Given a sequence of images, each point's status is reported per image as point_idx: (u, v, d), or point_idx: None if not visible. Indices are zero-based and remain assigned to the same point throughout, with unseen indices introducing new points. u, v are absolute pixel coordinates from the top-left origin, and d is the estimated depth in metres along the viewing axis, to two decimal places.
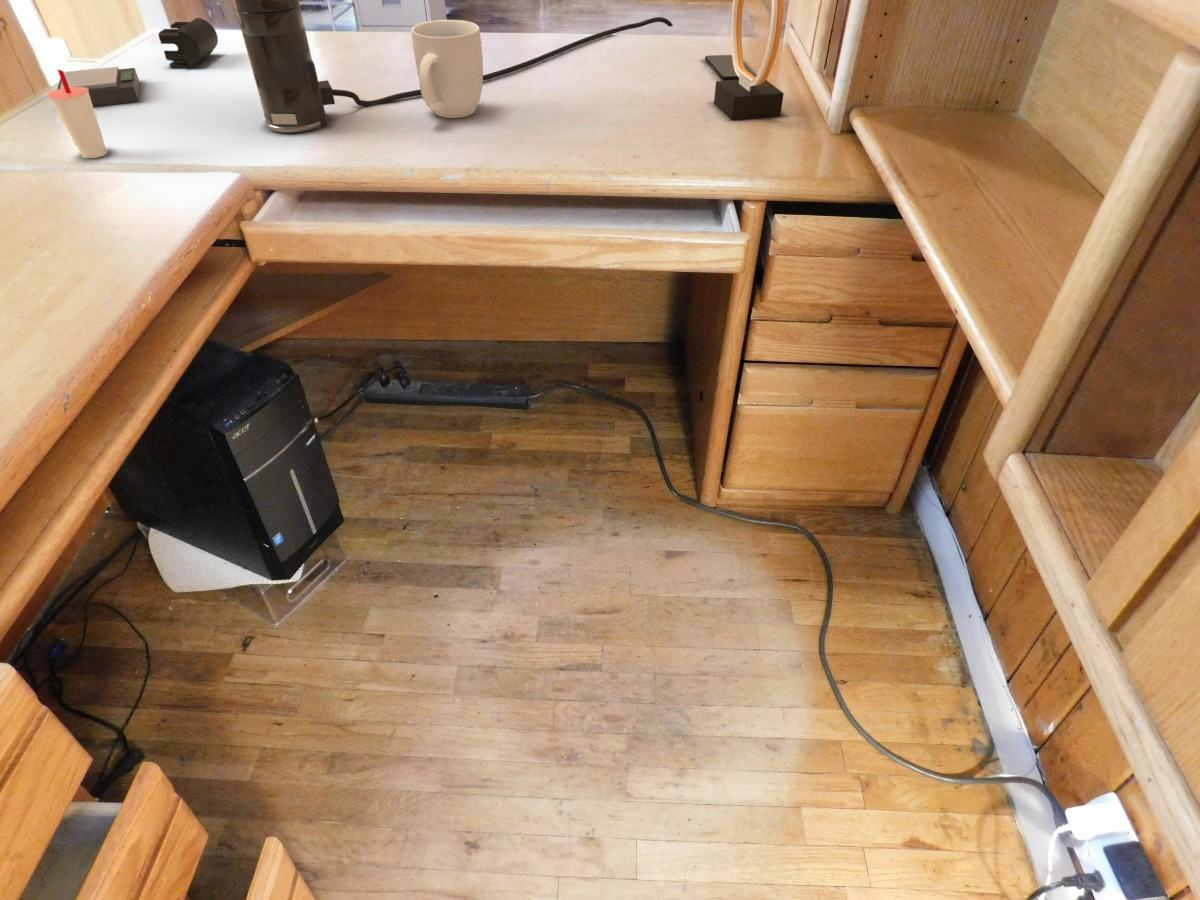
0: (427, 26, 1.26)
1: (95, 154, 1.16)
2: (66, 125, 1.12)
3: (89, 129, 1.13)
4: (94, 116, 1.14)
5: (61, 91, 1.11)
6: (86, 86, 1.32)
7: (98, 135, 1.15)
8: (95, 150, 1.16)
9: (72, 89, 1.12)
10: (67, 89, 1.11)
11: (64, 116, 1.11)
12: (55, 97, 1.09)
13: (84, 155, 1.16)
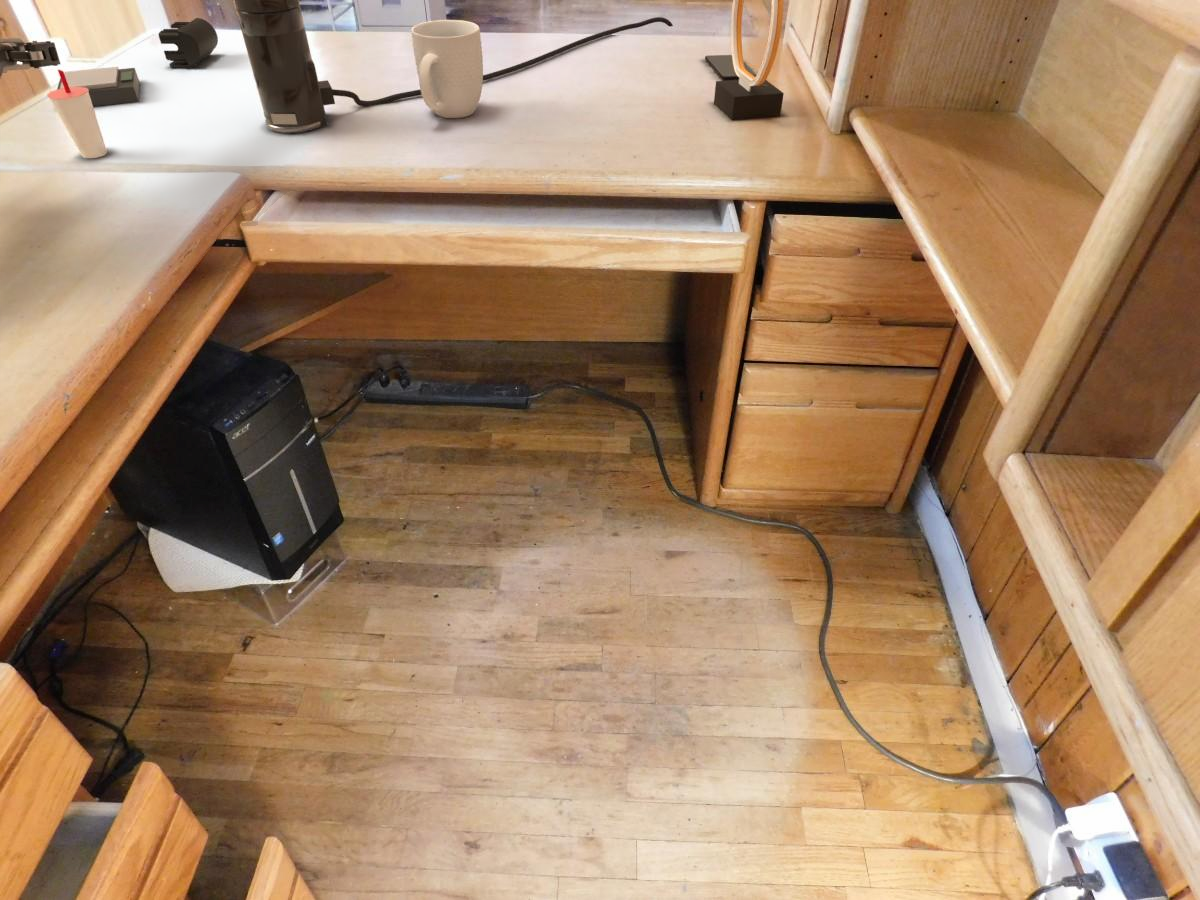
0: (427, 26, 1.26)
1: (95, 154, 1.16)
2: (66, 125, 1.12)
3: (89, 129, 1.13)
4: (94, 116, 1.14)
5: (61, 91, 1.11)
6: (86, 86, 1.32)
7: (98, 135, 1.15)
8: (95, 150, 1.16)
9: (72, 89, 1.12)
10: (67, 89, 1.11)
11: (65, 116, 1.11)
12: (55, 97, 1.09)
13: (84, 155, 1.16)
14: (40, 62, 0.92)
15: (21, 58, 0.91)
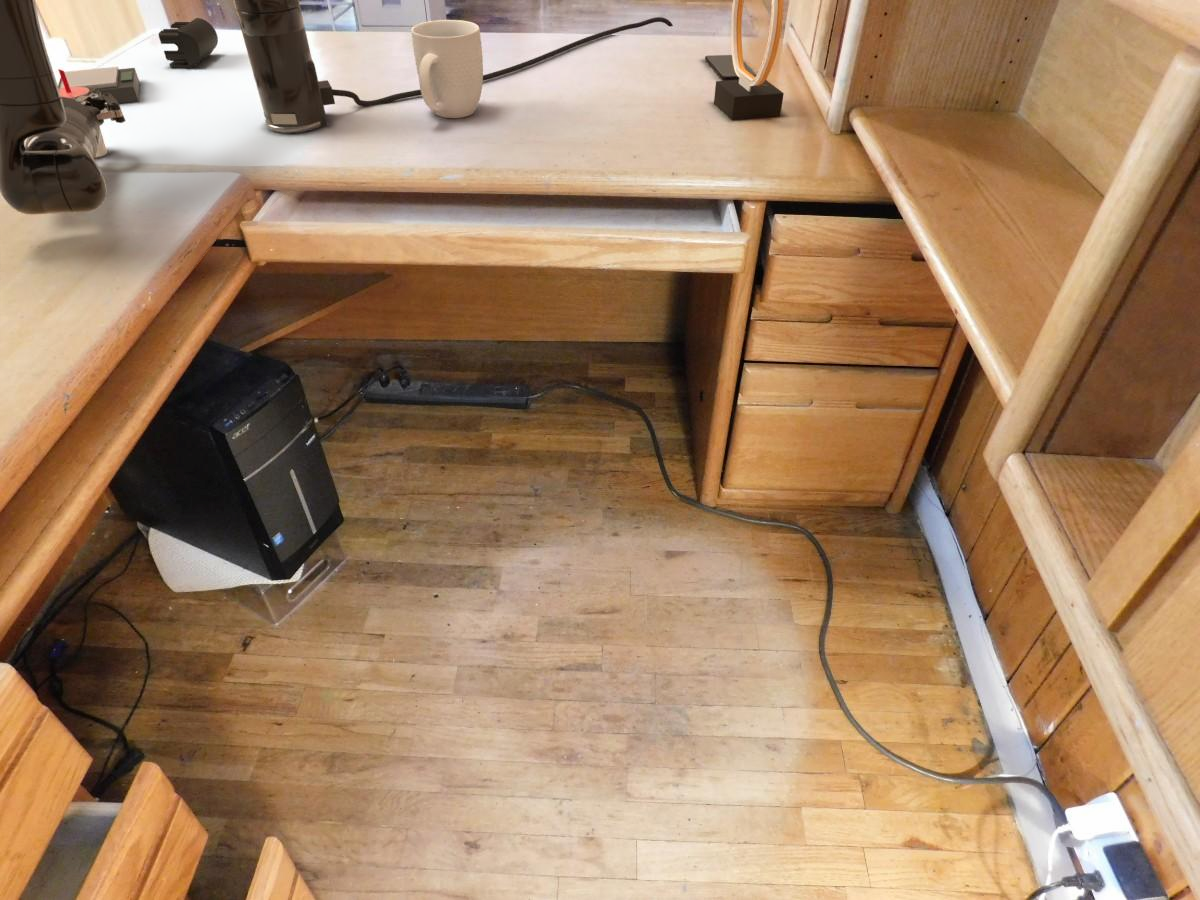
0: (427, 26, 1.26)
1: None
2: None
3: None
4: None
5: (62, 91, 1.12)
6: (86, 86, 1.32)
7: None
8: None
9: (73, 89, 1.12)
10: (68, 89, 1.11)
11: None
12: None
13: None
14: (123, 116, 1.10)
15: (110, 117, 1.09)
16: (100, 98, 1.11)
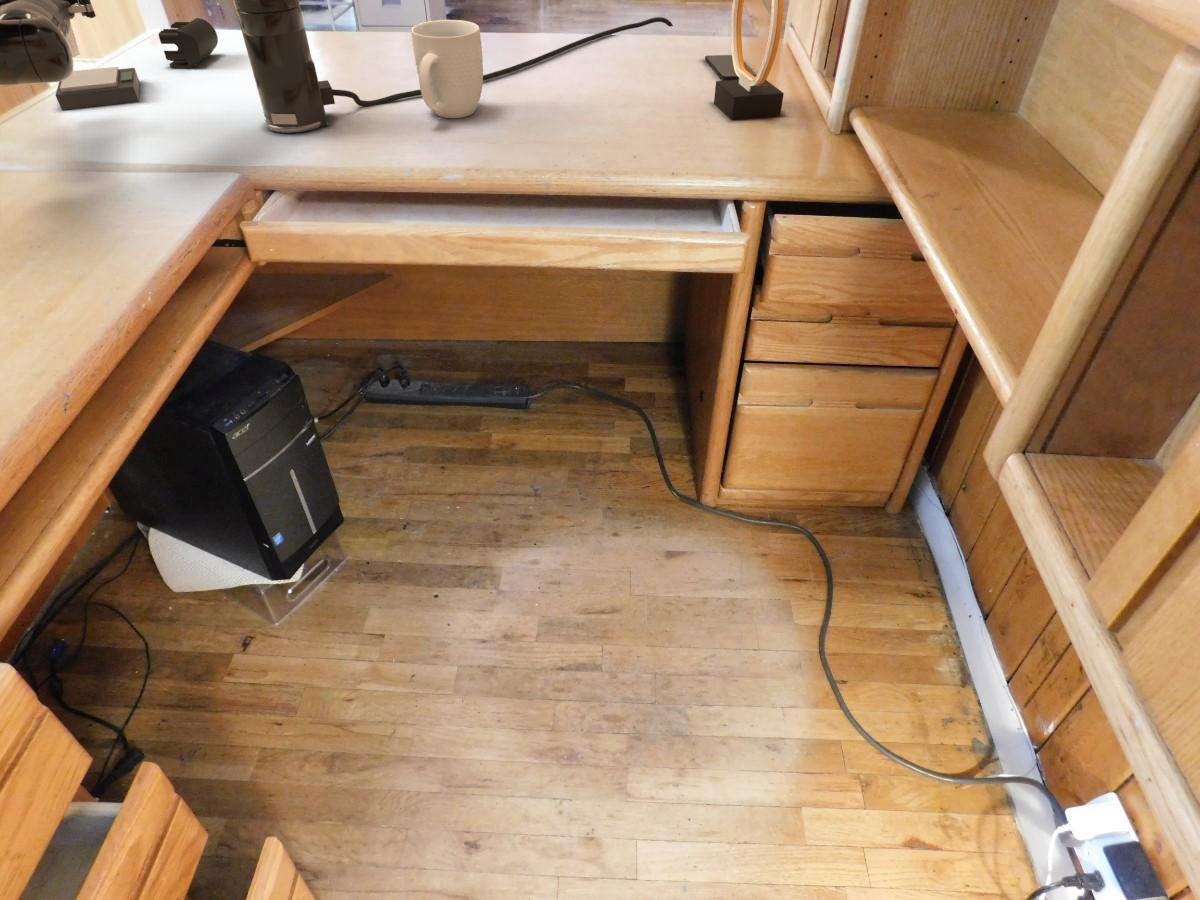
0: (427, 26, 1.26)
1: None
2: None
3: None
4: None
5: None
6: (86, 86, 1.32)
7: (71, 35, 1.18)
8: None
9: None
10: None
11: None
12: None
13: None
14: (94, 12, 1.13)
15: (81, 11, 1.12)
16: None
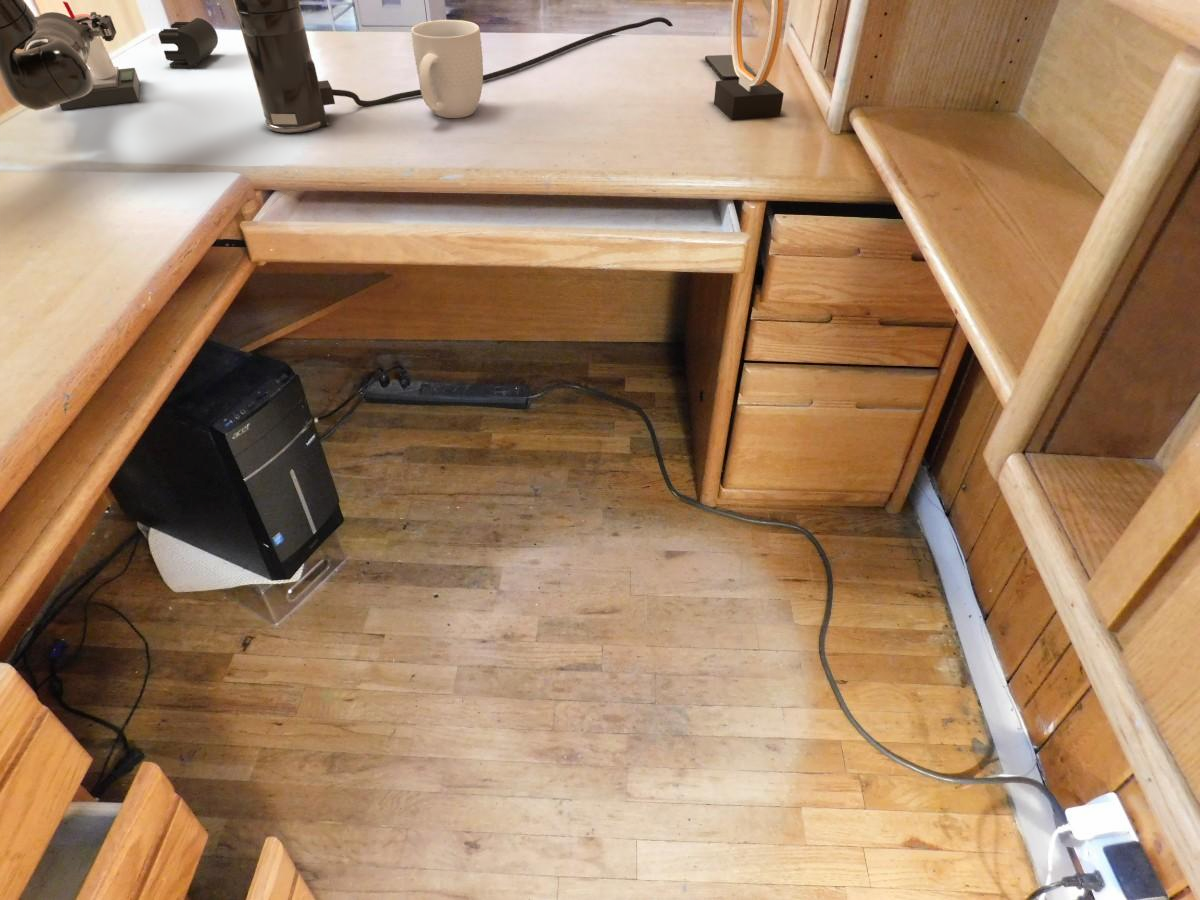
0: (427, 26, 1.26)
1: (107, 75, 1.34)
2: None
3: (99, 53, 1.31)
4: (100, 40, 1.31)
5: None
6: None
7: (107, 57, 1.32)
8: (107, 71, 1.33)
9: None
10: None
11: None
12: None
13: (98, 76, 1.34)
14: (111, 36, 1.25)
15: (98, 35, 1.23)
16: (101, 19, 1.27)
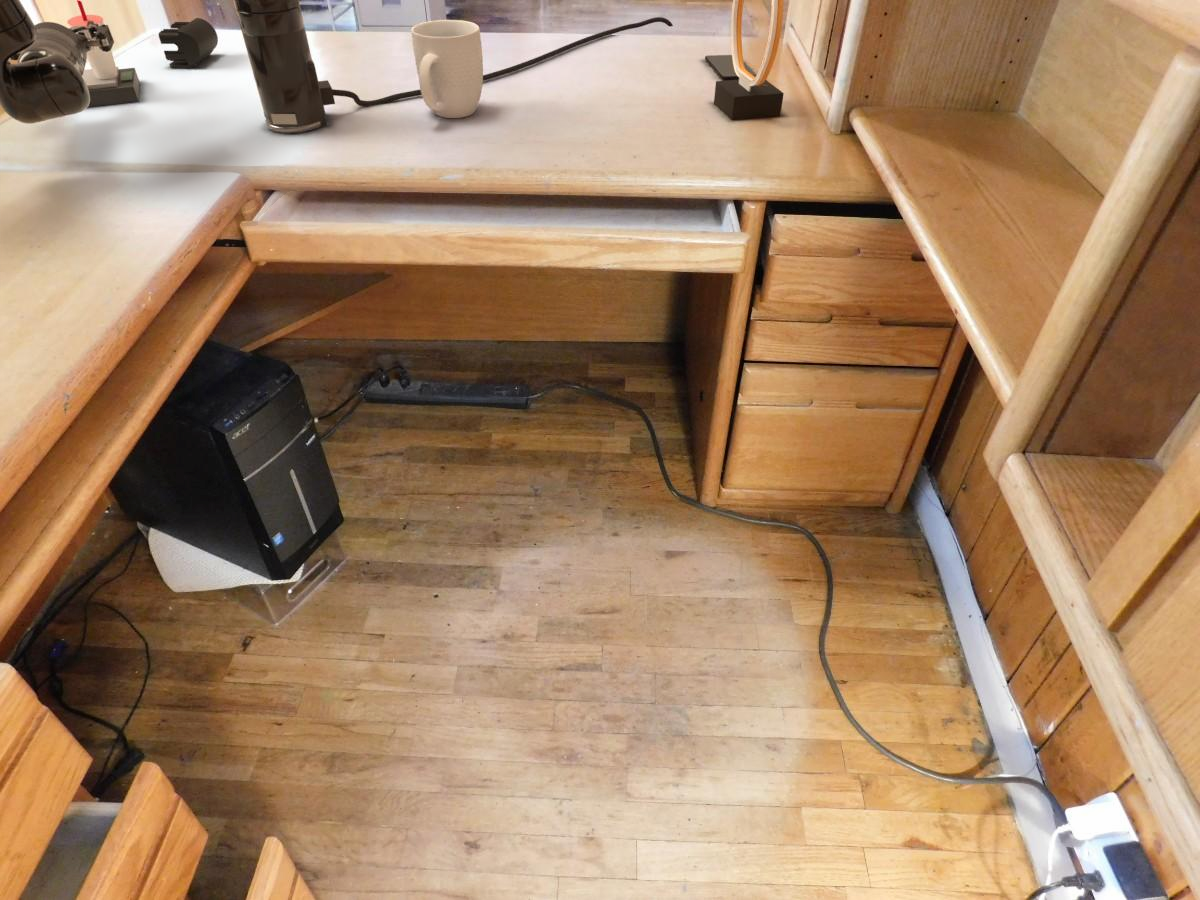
0: (427, 26, 1.26)
1: (109, 76, 1.34)
2: None
3: (104, 53, 1.31)
4: None
5: (79, 19, 1.29)
6: None
7: (111, 59, 1.33)
8: (109, 72, 1.34)
9: (88, 17, 1.30)
10: (85, 17, 1.28)
11: None
12: (75, 25, 1.27)
13: (99, 76, 1.34)
14: (109, 46, 1.20)
15: (95, 45, 1.19)
16: (98, 29, 1.22)
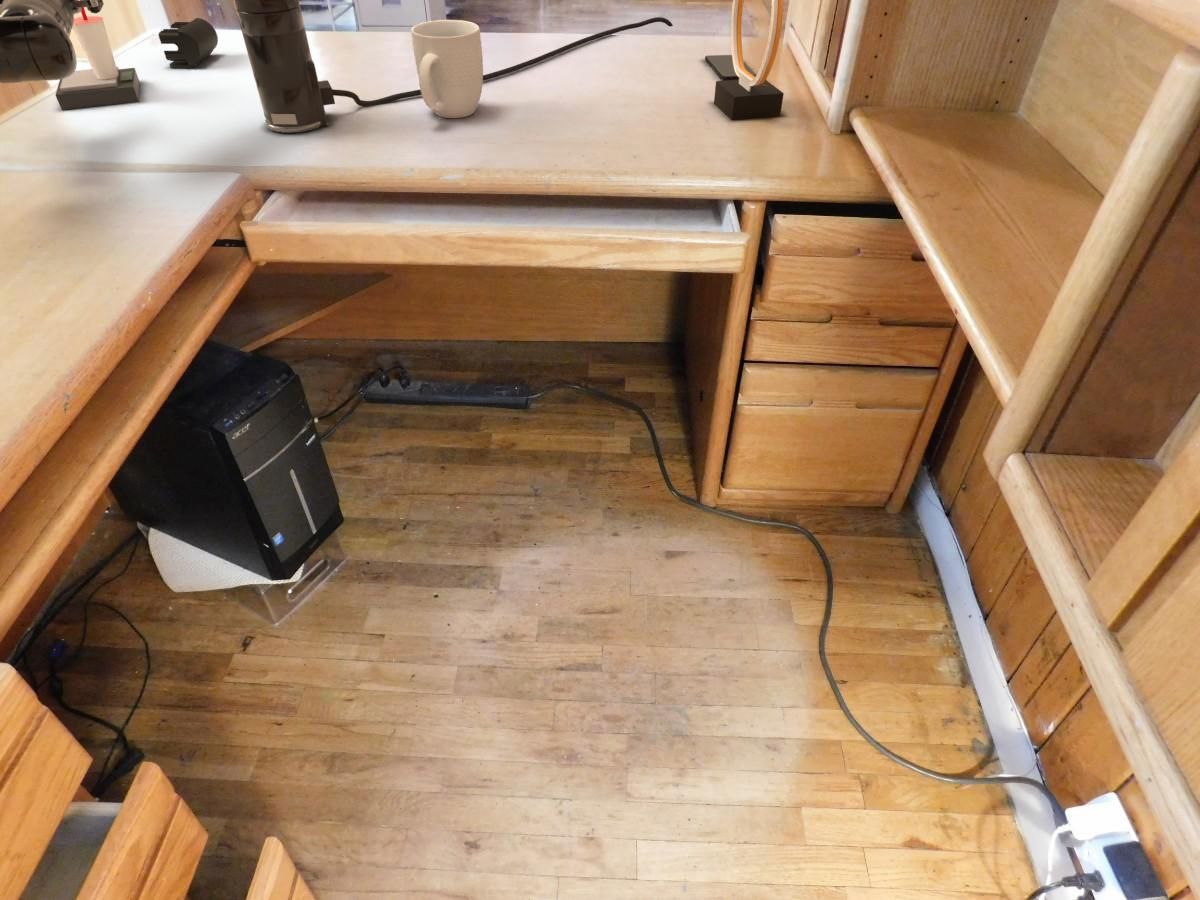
0: (427, 26, 1.26)
1: (109, 75, 1.34)
2: (84, 49, 1.31)
3: (104, 52, 1.32)
4: (108, 41, 1.32)
5: (79, 19, 1.30)
6: (86, 86, 1.32)
7: (111, 59, 1.33)
8: (109, 72, 1.34)
9: (88, 17, 1.30)
10: (85, 17, 1.29)
11: (83, 41, 1.29)
12: (75, 23, 1.28)
13: (99, 76, 1.34)
14: (98, 7, 1.11)
15: (83, 6, 1.10)
16: None
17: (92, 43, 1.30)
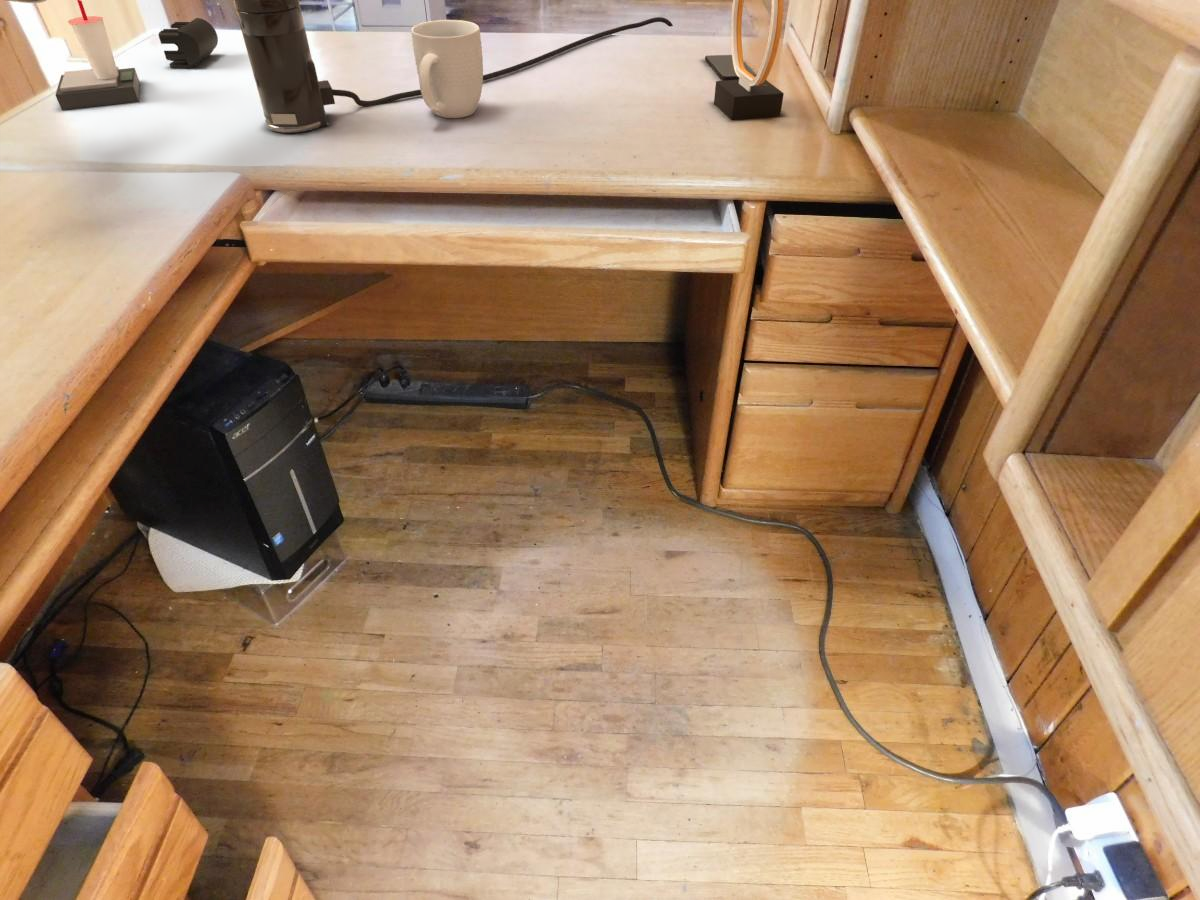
0: (427, 26, 1.26)
1: (109, 75, 1.34)
2: (84, 49, 1.31)
3: (104, 52, 1.32)
4: (108, 41, 1.32)
5: (79, 19, 1.30)
6: (86, 86, 1.32)
7: (111, 59, 1.33)
8: (109, 72, 1.34)
9: (88, 17, 1.30)
10: (85, 17, 1.29)
11: (83, 41, 1.29)
12: (75, 23, 1.28)
13: (99, 76, 1.34)
14: None
15: None
16: None
17: (92, 43, 1.30)
